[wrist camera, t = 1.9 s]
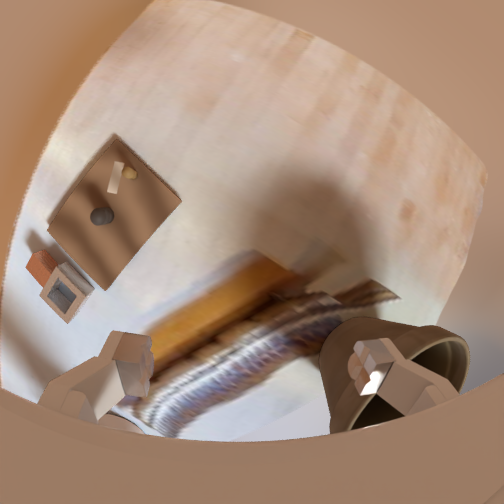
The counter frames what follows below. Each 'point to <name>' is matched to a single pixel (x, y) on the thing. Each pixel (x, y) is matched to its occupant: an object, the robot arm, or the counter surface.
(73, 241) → the post board
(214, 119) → the counter surface
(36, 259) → the flange
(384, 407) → the plant pot
